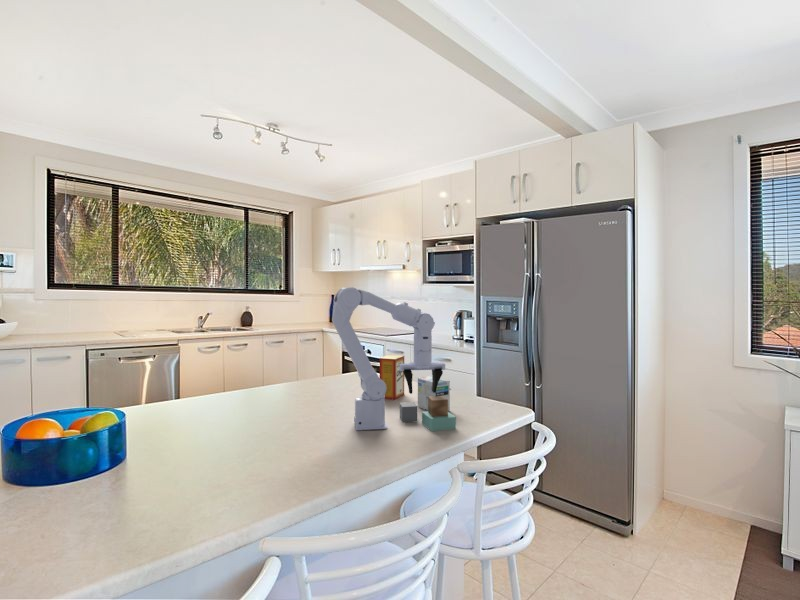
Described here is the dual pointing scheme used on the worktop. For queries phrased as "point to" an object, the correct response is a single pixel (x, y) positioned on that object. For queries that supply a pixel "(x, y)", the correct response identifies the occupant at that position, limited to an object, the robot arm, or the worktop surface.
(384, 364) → the baking soda box
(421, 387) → the light bulb box
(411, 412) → the slate cube
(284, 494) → the worktop surface
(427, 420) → the teal base block
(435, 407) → the walnut cube
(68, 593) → the worktop surface
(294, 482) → the worktop surface
